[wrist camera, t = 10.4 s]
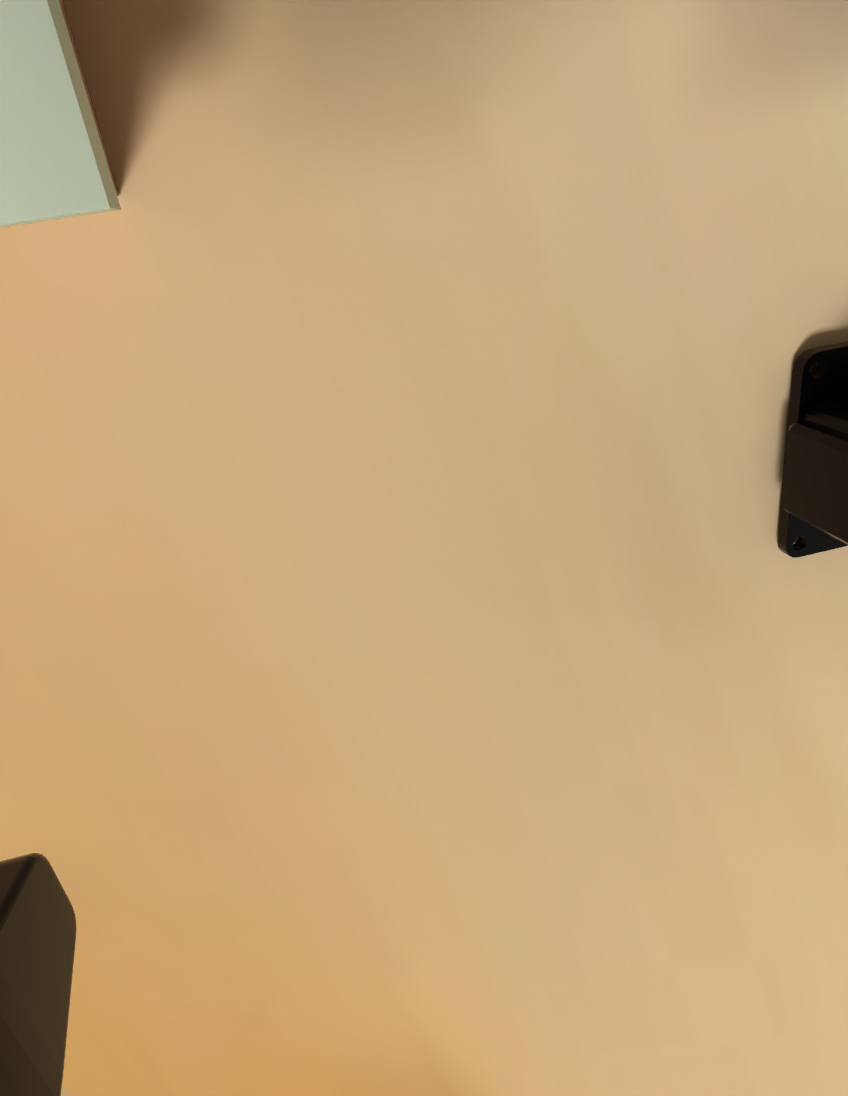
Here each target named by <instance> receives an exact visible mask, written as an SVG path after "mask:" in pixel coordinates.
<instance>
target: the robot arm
mask: <svg viewBox="0 0 848 1096" xmlns="http://www.w3.org/2000/svg"><path fill="white" fill-rule="evenodd" d="M815 362H816V363H817V366H816V369H815V371H814V372H813V373H812V374H811V373H810V370H811V367H812V365H813V364H814V363H815ZM797 537H799V538H798V540H797V542H796V543H795V544H793V543H794V541H795V539H796V538H797ZM844 546H848V342H844V343H839V344H834V345H829V346H824V347H819V348H814V349H810V350H807V351H805V352H803V353H802V354H801V355H800V356H799V357H798V359H797V360H796V362H795V364H794V368H793V375H792V387H791V398H790V409H789V420H788V431H787V440H786V451H785V462H784V473H783V485H782V496H781V509H780V520H779V531H778V547H779V549H780V550H781V551H783V552H784V553H786V554H787V555H789V556H791V557H801V556H806V555H810V554H814V553H818V552H823V551H827V550H831V549H835V548H839V547H844ZM75 940H76V919H75V913H74V910H73V907H72V905H71V903H70V901H69V899H68V897H67V895H66V893H65V891H64V889H63V887H62V886H61V884H60V882H59V880H58V878H57V876H56V874H55V872H54V870H53V869H52V867H51V865H50V863H49V861H48V860H47V859H46V857H44V856H43V855H41V854H38V853H32V854H28V855H24V856H20V857H16V858H12V859H8V860H4V861H1V862H0V1096H60V1095H61V1087H62V1078H63V1069H64V1059H65V1048H66V1037H67V1026H68V1015H69V1005H70V994H71V983H72V972H73V962H74V951H75Z"/></svg>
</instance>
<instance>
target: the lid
mask: <svg viewBox="0 0 848 1096" xmlns="http://www.w3.org/2000/svg"><path fill="white" fill-rule="evenodd" d="M116 210H121V208H120V204H119V201H118V197H117V194H116V191H115V187H114V184H113V181H112V177H111V174H110V171H109V167H108V164H107V161H106V157H105V154H104V150H103V147H102V144H101V140H100V137H99V134H98V130H97V127H96V124H95V120H94V117H93V114H92V110H91V107H90V103H89V100H88V97H87V93H86V90H85V87H84V83H83V80H82V77H81V73H80V70H79V67H78V63H77V60H76V56H75V53H74V50H73V46H72V43H71V40H70V36H69V33H68V30H67V26H66V23H65V20H64V16H63V13H62V10H61V6H60V3H59V0H0V228H3V227H10V226H17V225H23V224H30V223H36V222H43V221H50V220H56V219H63V218H70V217H76V216H83V215H89V214H96V213H103V212H109V211H116Z"/></svg>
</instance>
